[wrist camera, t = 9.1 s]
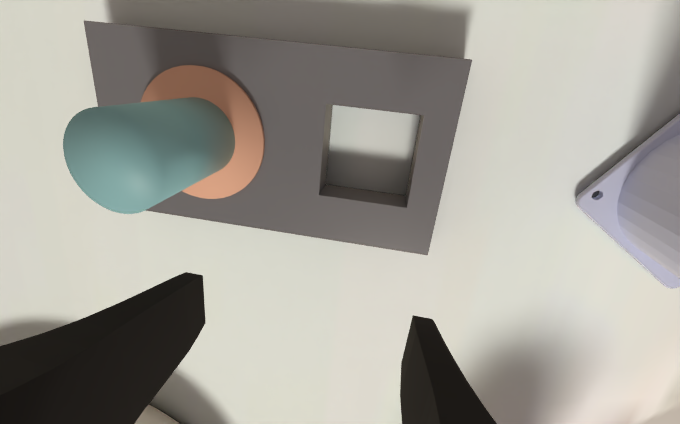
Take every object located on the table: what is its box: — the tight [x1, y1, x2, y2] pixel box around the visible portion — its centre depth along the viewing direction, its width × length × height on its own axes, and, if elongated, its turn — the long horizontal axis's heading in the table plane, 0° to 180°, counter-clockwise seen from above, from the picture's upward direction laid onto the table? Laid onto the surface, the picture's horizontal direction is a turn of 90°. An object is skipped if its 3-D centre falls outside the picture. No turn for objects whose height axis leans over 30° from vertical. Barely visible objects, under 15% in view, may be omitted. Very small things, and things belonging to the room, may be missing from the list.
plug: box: [63, 97, 235, 214], centre depth 15 cm, size 4×4×6 cm
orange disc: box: [141, 65, 265, 199], centre depth 18 cm, size 7×7×1 cm
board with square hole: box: [84, 21, 472, 255], centre depth 19 cm, size 19×10×2 cm, turn 84°
